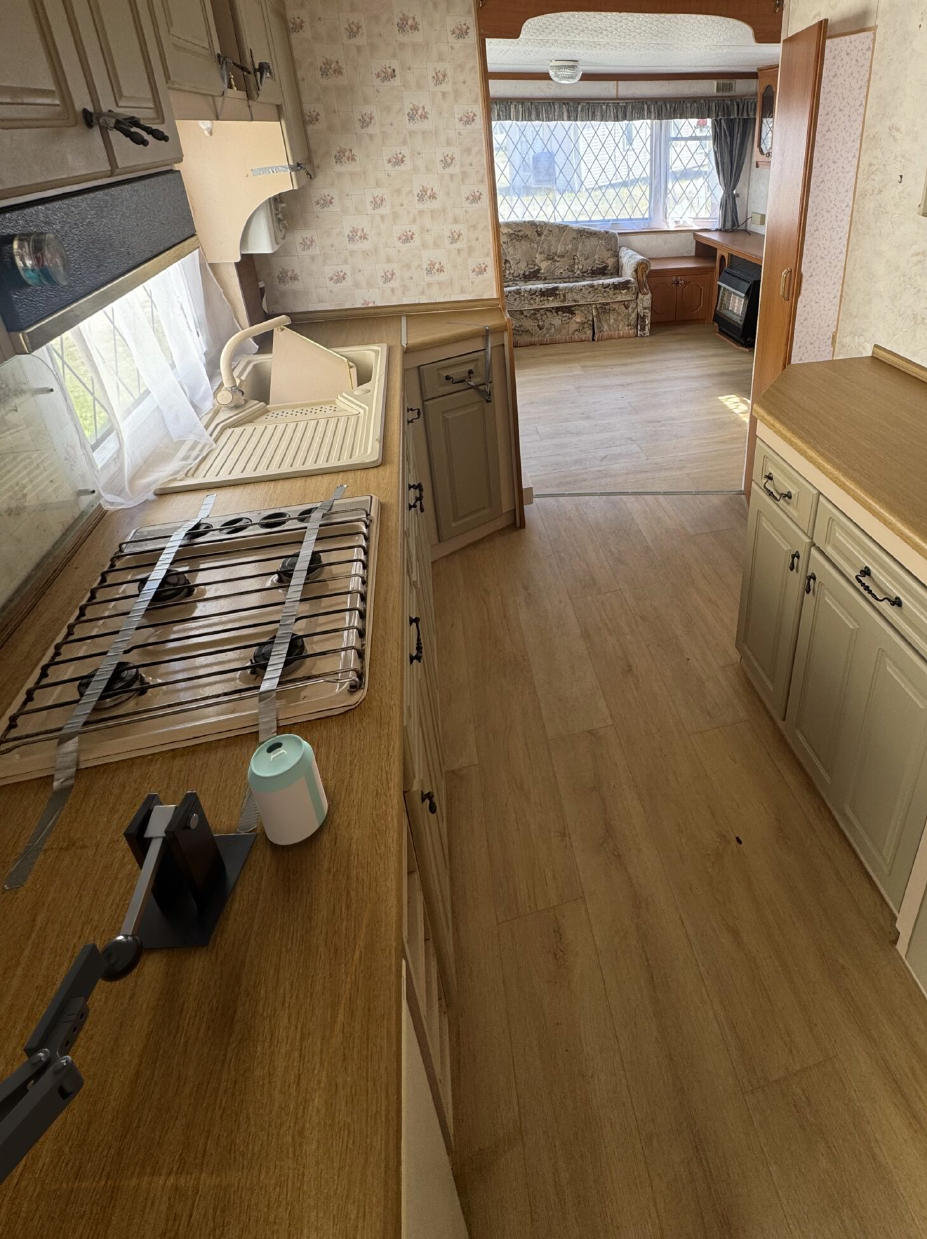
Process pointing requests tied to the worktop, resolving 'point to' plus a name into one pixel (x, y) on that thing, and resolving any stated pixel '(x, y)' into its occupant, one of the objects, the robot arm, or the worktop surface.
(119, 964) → the tap lever
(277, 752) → the can
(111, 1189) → the worktop surface
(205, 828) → the lever stand
